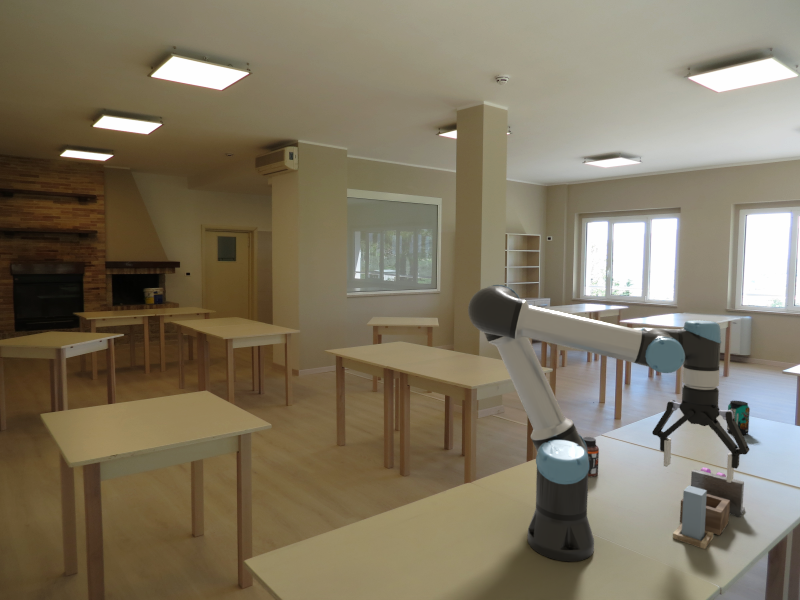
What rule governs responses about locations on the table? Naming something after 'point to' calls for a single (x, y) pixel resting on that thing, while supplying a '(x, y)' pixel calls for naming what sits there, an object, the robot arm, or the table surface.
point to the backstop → (721, 489)
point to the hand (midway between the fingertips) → (697, 472)
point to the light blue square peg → (694, 512)
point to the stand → (692, 541)
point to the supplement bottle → (592, 455)
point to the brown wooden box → (714, 514)
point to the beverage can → (740, 415)
